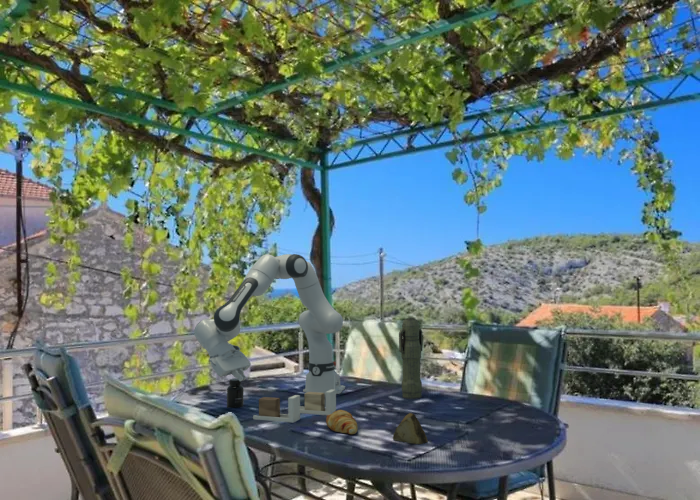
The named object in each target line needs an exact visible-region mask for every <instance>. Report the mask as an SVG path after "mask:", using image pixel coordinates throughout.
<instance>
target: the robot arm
mask: <svg viewBox="0 0 700 500" xmlns="http://www.w3.org/2000/svg"><path fill="white" fill-rule="evenodd" d="M280 279H281V280H289V279H292V280H293V282H294V286H295V289H296V291H297V295H298V297H299V300H300V302H301V304H302V305H303V306H304V307H305V308H306V309H307V310H304V311H303V312H301V313H300V315H299V317H298V325H299V326H300V328H301V329H302V330H303V332H304V335H305V337H306V340H307V345H308V353H309V355H308V356H309V357H308V358H309V359H308V360H309V362H308V366H307V367H308V368H307V369H308V372H307V373H306V376H305V387H304V388H303V389H302V392H303V393H307V392H319V393H325V392H327V391H329V390H331V389H333V390H336V395H340V394H342V392H343V391H344V390H345V389H346V386H345V385H341V376H340V375H339V374H338V373H337V371H336V370H335V367H336V366H337V362H336V361H333V359H334V355H333V345H332V343H331V342H330V341H329V339H328V337H327V336H328V335H329V334H336V333H338V332H339V331H341V330H342V328H343V324H344V319H343V316H342V314H340V313H339V311H337V310H336V309H334V308H333V306H332V305H331V303H330V302H329V300H328V298H326V296H325V294H324V292H323V289H322V286H321V283H320V280H319V278H318V275H317V273H316V271H315V269H314V267H313V265H312V264H311V262H309V261H307V260H306V258H305V257H304V256H302V255H300V254H297V253H292V254H290V253H289V254H287V253H286V254H281V255H280V254H279V255H275V256H274V255H272V254H268V253H267V254H262V255H261V256H260V257H259V258H258V259H257V260H256V262H255V263H254V264H253V265H252V266H251V268H249V271H248V272H247V273H246V276H245V277H244V279H243V281H242V282H241V284H240V285H239V286H238V287H237V288H236V290H235V291H234V293H233V294H232V296H231V297H230V298H229V299H228V300H227V301H226V302H225V303H223V305H221V306H219V307H218V308H217V310H215V312H214V314H213V318H212V319H211V318H210V319H207V318H204V319H202V320H200V321H199V322H198V323H197V324H196V326H195V328H194V331H193V333H194V334H193V335H194V337H195V338H196V340H197V342H198V344H199V345H201V347H202V348H203V349H204V350H205V351H206V352H207V355H208V356H209V362H210V365H211V367H212V369H213V371H214V372H215V374H216V375H217V377H220V378H223V377H226V376H229V375H232V376H233V377H234V378H235V379H238V380H239V381H241V382H242V381H243V382H244V381H245V380H246V379H247V376H246V375H245V372H244V371H248V369H249V368H250V367H251V366H252V365H251V362H250V359H249V358H248V357H247V356H246V355H245V353H244V352H242V351H241V348H240V347H239V346H238V345H234V344H232V343H229V341H232V340H233V339H235V338H236V337H238V335H240V333H241V322H240V321H241V320H240V318H241V316H240V315H241V312H242V310H243V308H244V307H245V306H246V304H247V303H248V301H249V300H250V299H251V298H252V296H255V297H259V296H263V294H265V293H266V292H267V291H268V289H269V288H270V286H271V285H272V283H273V281H274V280H280ZM327 334H328V335H327Z"/></svg>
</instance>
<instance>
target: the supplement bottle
mask: <svg viewBox="0 0 700 500" xmlns="http://www.w3.org/2000/svg"><path fill="white" fill-rule="evenodd" d="M243 406H244V386H243V385H242V381H239V380H238V379H237V378H231V379H229V384H228V387H226V408H227V409H229V408H231V409H236V408H243Z"/></svg>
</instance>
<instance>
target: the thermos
mask: <svg viewBox="0 0 700 500" xmlns="http://www.w3.org/2000/svg"><path fill="white" fill-rule="evenodd" d="M423 346H424V344H423V330H422V328H420V325H419V321H418V319H416V318H412V317H411V318H404V319H403V320H402V324H401V329H400V330H399V332H398V352H399V353H401V356H400V357H401V359H402V380H401V393H402V397H401V398H402V399H406V400H408V399H410V400H414V399H415V400H416V399H421V398H422V397H423V396H422V392H423V383H422V379H421V358H422V352H423V350H424V349H423V348H424V347H423Z"/></svg>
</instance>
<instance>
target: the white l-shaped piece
mask: <svg viewBox="0 0 700 500" xmlns="http://www.w3.org/2000/svg"><path fill="white" fill-rule="evenodd" d="M335 411H337V394H336V390H333V389H331V390H329V391H327V392H325V411H315V410H305V406H303V405H302V406H301V405H300V414H304V415H305V414H306V415H318V416H319V415H320V416H327V415H330V414H332V413H333V412H335Z"/></svg>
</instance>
